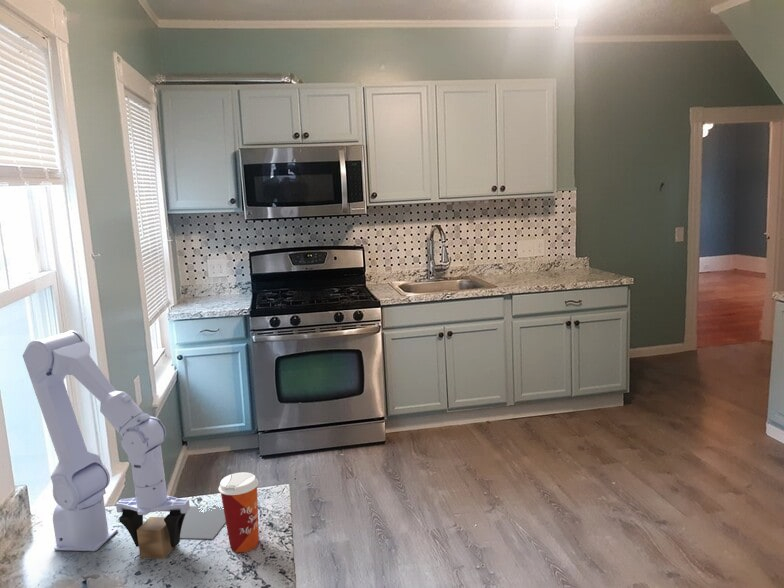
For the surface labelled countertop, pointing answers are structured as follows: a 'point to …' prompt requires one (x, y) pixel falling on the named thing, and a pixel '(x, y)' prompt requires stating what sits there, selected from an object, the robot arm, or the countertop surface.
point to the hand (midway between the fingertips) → (157, 544)
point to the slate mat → (202, 523)
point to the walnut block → (154, 538)
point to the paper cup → (241, 510)
